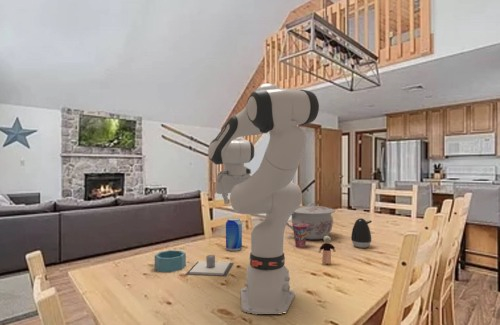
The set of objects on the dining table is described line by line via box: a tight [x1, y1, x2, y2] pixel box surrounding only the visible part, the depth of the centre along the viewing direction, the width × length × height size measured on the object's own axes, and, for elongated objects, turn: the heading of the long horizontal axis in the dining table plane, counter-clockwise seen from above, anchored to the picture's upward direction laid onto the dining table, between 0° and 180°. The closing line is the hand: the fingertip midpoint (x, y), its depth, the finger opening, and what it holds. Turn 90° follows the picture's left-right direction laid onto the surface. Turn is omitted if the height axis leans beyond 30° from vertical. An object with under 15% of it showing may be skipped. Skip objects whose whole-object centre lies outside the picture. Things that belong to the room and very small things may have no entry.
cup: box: [291, 223, 310, 249], centre depth 170 cm, size 9×8×12 cm
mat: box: [184, 261, 235, 278], centre depth 135 cm, size 17×17×1 cm
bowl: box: [154, 249, 187, 273], centre depth 137 cm, size 12×12×6 cm
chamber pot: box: [286, 202, 336, 241], centre depth 191 cm, size 28×28×21 cm
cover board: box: [190, 254, 231, 275], centre depth 135 cm, size 14×14×5 cm
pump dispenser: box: [350, 218, 372, 249], centre depth 169 cm, size 10×10×15 cm
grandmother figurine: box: [317, 235, 337, 266], centre depth 141 cm, size 8×4×13 cm, turn 105°
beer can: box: [225, 217, 243, 252], centre depth 166 cm, size 8×8×16 cm
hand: (234, 202), depth 137 cm, fingers open, 8 cm apart
